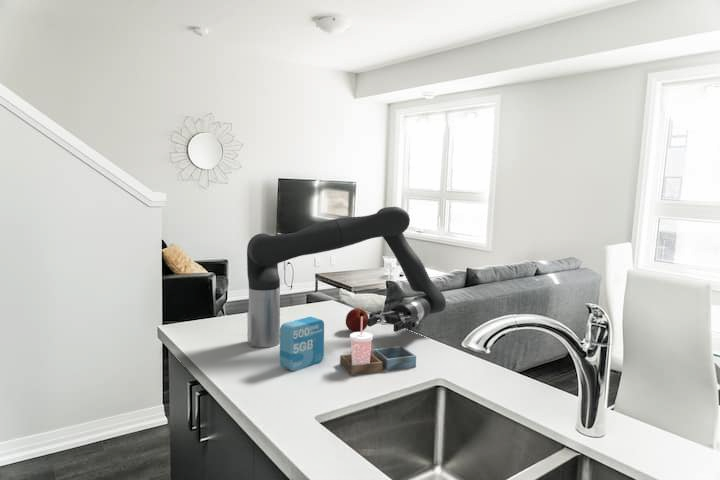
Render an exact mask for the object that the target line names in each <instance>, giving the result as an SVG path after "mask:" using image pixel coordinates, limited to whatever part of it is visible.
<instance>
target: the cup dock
mask: <svg viewBox="0 0 720 480" xmlns="http://www.w3.org/2000/svg"><path fill="white" fill-rule="evenodd" d="M339 356H340V357H339V358H340V359H339V361H340V362H339V364H340V366H341V367H342V368H343V369H344V370H345V371H346V372H347V373H348V374H349V375H350V376H351V377H352V376H360V375H366V374H367V375H368V374H373V373H381V372H383V369H384V370H385V371H387V372H389V371H395V370H402V369H410V368H416V367H417V355H415V354H414V353H412V352H411V351H410V350H408V349H407V348H405V347H403V346H391V347H384V348H383V347H382V348H375V349H373V353H372V352H371V355H370V363H366V364H358V365H352V353H348V354H341V355H339Z"/></svg>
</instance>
